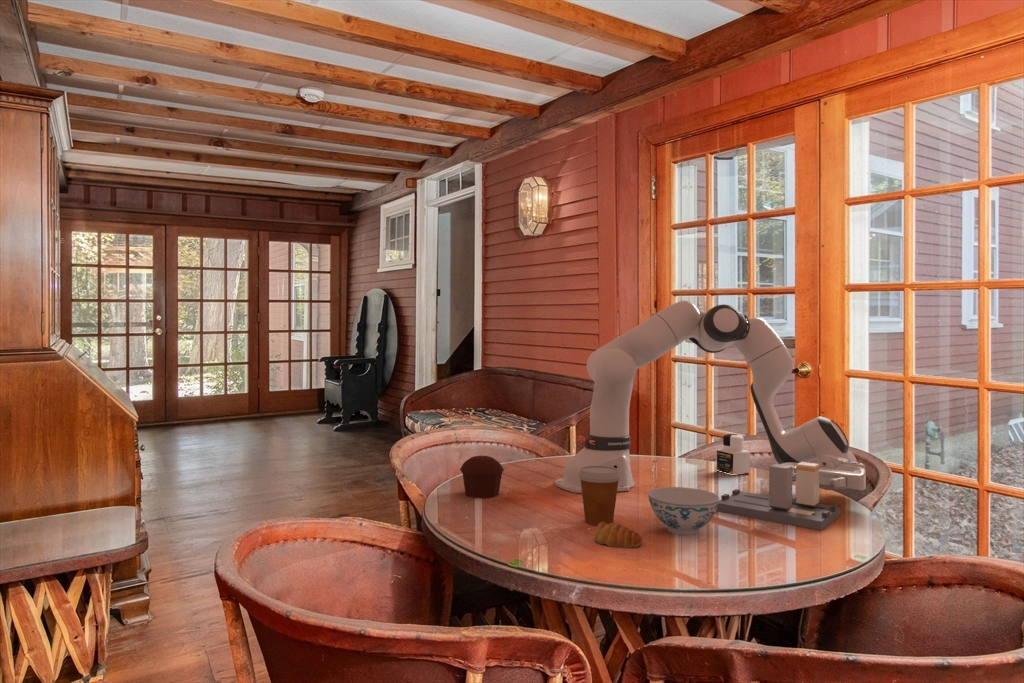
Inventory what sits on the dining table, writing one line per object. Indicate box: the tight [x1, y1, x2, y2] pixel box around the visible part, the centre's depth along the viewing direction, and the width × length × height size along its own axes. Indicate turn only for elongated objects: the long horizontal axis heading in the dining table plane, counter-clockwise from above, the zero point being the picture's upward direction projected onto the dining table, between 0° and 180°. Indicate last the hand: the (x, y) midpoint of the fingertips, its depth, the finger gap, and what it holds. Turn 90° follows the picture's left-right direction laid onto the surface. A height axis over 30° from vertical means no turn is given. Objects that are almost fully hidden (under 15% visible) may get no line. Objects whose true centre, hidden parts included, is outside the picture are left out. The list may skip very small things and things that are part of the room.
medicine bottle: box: [716, 433, 751, 474], centre depth 201 cm, size 7×7×12 cm
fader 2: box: [795, 462, 820, 508], centre depth 153 cm, size 4×4×10 cm
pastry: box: [593, 522, 643, 549], centre depth 131 cm, size 9×7×4 cm
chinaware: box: [647, 486, 720, 536], centre depth 140 cm, size 15×15×8 cm
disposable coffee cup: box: [578, 466, 621, 527], centre depth 146 cm, size 10×10×12 cm
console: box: [716, 488, 841, 531], centre depth 155 cm, size 24×16×3 cm, turn 50°
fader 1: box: [768, 463, 793, 510], centre depth 150 cm, size 4×4×10 cm
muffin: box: [459, 455, 505, 499], centre depth 171 cm, size 12×11×10 cm
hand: (811, 480), depth 155 cm, fingers open, 8 cm apart
